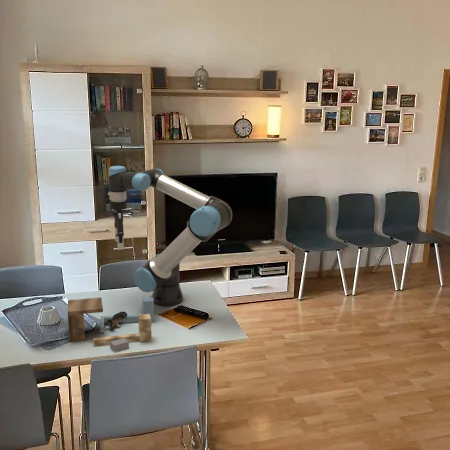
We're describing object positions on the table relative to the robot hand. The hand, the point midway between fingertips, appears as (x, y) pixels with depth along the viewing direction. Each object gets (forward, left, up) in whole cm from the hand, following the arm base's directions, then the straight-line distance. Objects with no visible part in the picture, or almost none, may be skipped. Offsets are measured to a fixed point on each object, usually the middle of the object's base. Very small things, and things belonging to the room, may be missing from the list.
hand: (119, 245), depth 230 cm
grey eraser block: (+5, +45, -29) cm, 54 cm away
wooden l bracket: (+17, +29, -29) cm, 44 cm away
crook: (0, +26, -28) cm, 38 cm away
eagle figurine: (+4, +26, -29) cm, 39 cm away
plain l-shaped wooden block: (+3, +40, -29) cm, 49 cm away
